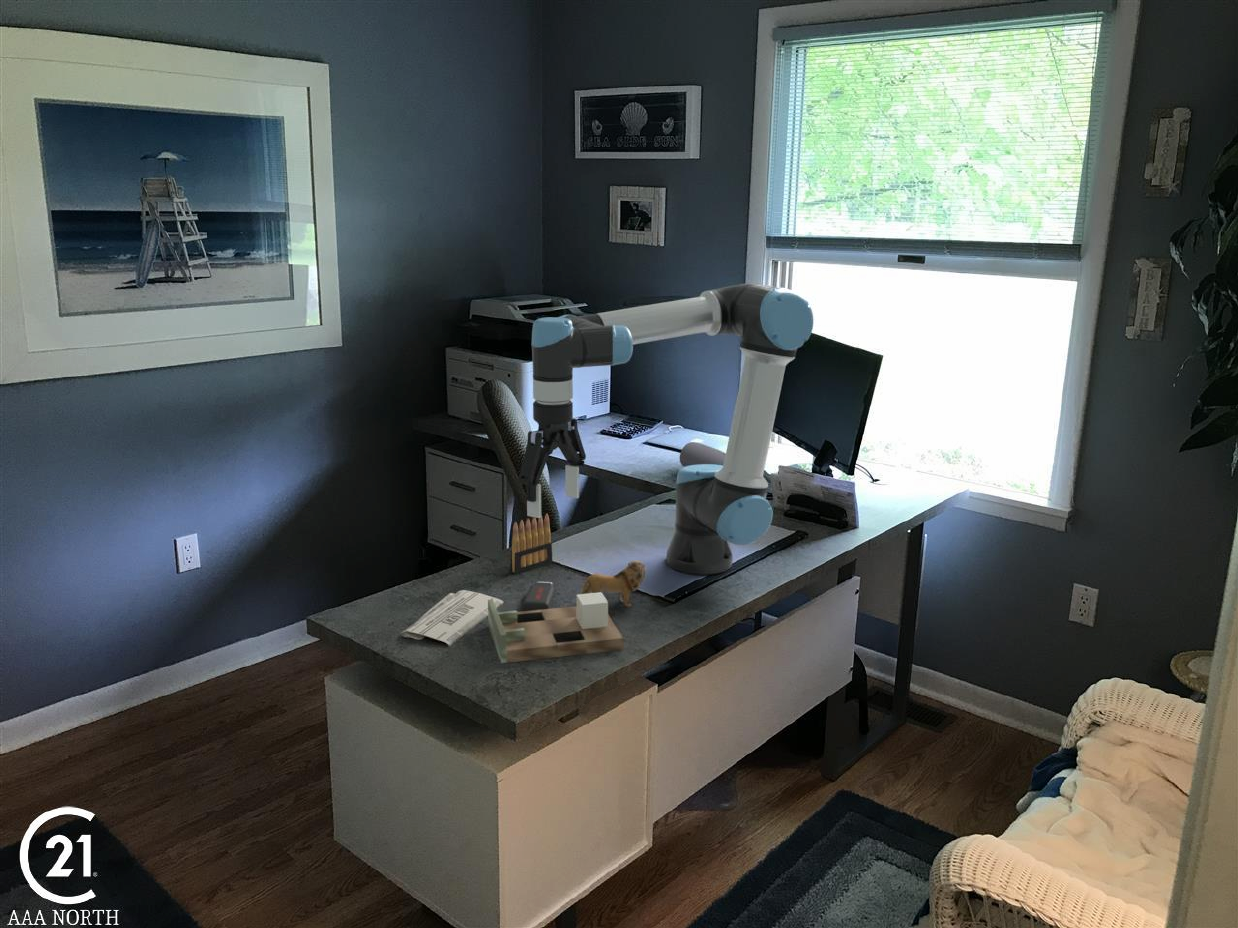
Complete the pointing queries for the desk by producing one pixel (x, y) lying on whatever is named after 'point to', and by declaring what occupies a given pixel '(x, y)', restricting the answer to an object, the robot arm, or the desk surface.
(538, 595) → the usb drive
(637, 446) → the desk surface
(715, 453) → the grey long tapered piece
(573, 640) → the trap deck
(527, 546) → the ammunition clip
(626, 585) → the lion figurine
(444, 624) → the newspaper
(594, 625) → the cream block
